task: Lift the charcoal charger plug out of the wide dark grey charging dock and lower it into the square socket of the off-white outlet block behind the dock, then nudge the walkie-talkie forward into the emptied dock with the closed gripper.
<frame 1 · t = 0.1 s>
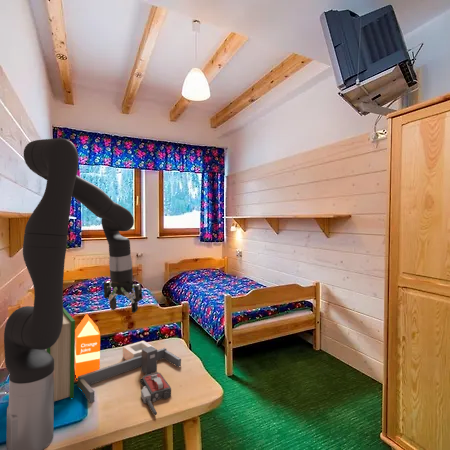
hand: (124, 310, 107), 22 cm above the table, tool pointing down, fingers open, 8 cm apart
outlet: (138, 358, 118), on the table
walkie-talkie: (156, 397, 93), on the table
orange juice: (86, 372, 107), on the table
hardback book: (54, 390, 95), on the table
plug: (149, 371, 108), on the table
cradle: (132, 375, 105), on the table
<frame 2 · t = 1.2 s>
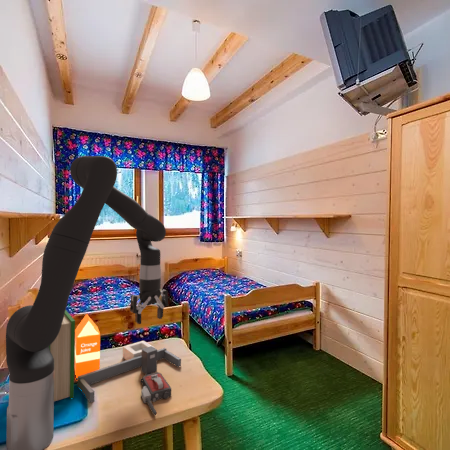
hand: (149, 320, 108), 18 cm above the table, tool pointing down, fingers open, 8 cm apart
nothing on the table moved.
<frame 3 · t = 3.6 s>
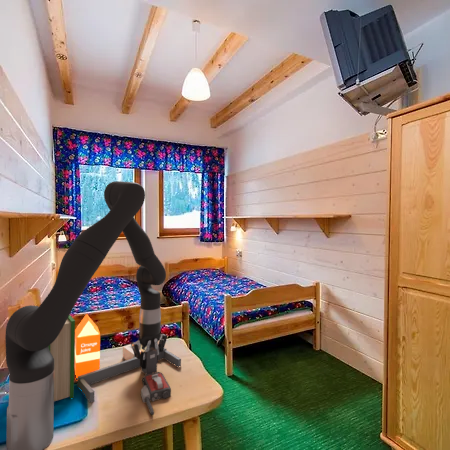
hand: (149, 366, 108), 2 cm above the table, tool pointing down, fingers closed on plug, 4 cm apart
plug: (149, 371, 108), on the table, touching gripper
everything else where it was.
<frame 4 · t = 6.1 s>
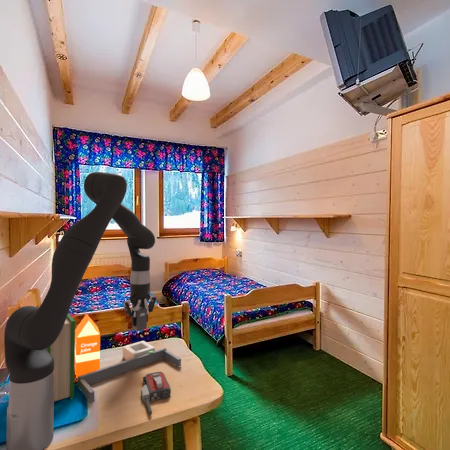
hand: (139, 324, 118), 14 cm above the table, tool pointing down, fingers closed on plug, 4 cm apart
plug: (139, 328, 118), point 12 cm above the table, touching gripper
everything else where it was.
when the fingers open (5 cm above the table, at t = 7.7 s): plug drops 2 cm, resting on outlet.
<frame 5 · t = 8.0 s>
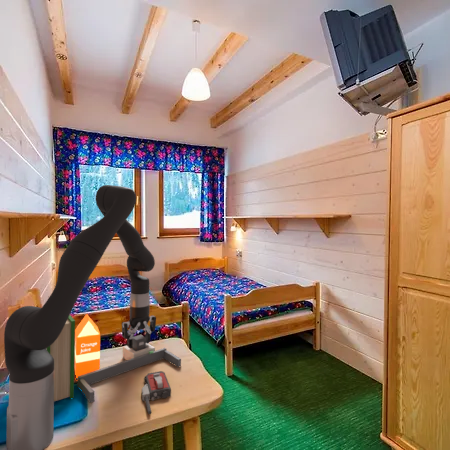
hand: (138, 345, 118), 5 cm above the table, tool pointing down, fingers open, 6 cm apart
plug: (138, 357, 118), resting on outlet
everything else where it was.
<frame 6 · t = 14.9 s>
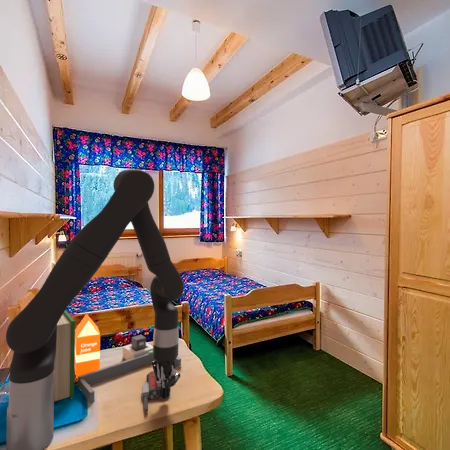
hand: (164, 397, 90), 1 cm above the table, tool pointing down, fingers closed
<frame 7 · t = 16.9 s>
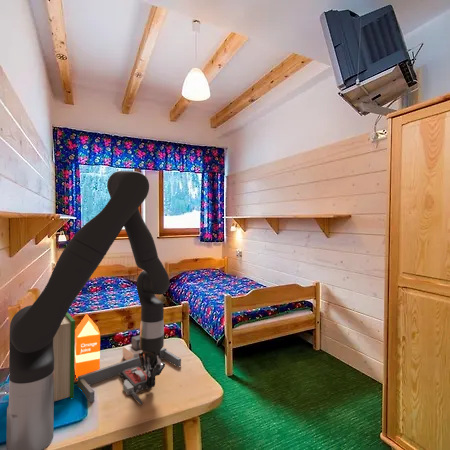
hand: (150, 386, 96), 2 cm above the table, tool pointing down, fingers closed
walkie-talkie: (137, 389, 98), on the table
everything else where it was.
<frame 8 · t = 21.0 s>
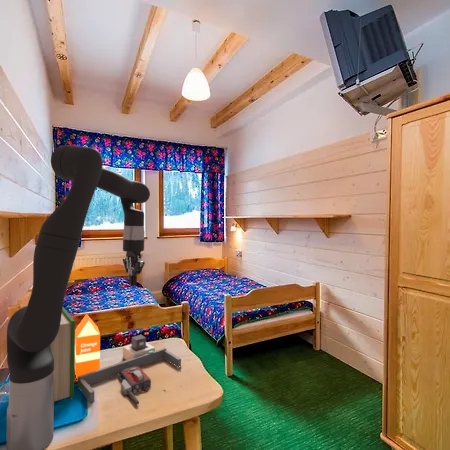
hand: (132, 285, 109), 31 cm above the table, tool pointing down, fingers closed
nothing on the table moved.
at the end: walkie-talkie inside the target area (4.8 cm from its centre), on the table; plug 0.2 cm off-centre on the outlet, point 0.4 cm above the outlet's base; plug tilted 0° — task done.
